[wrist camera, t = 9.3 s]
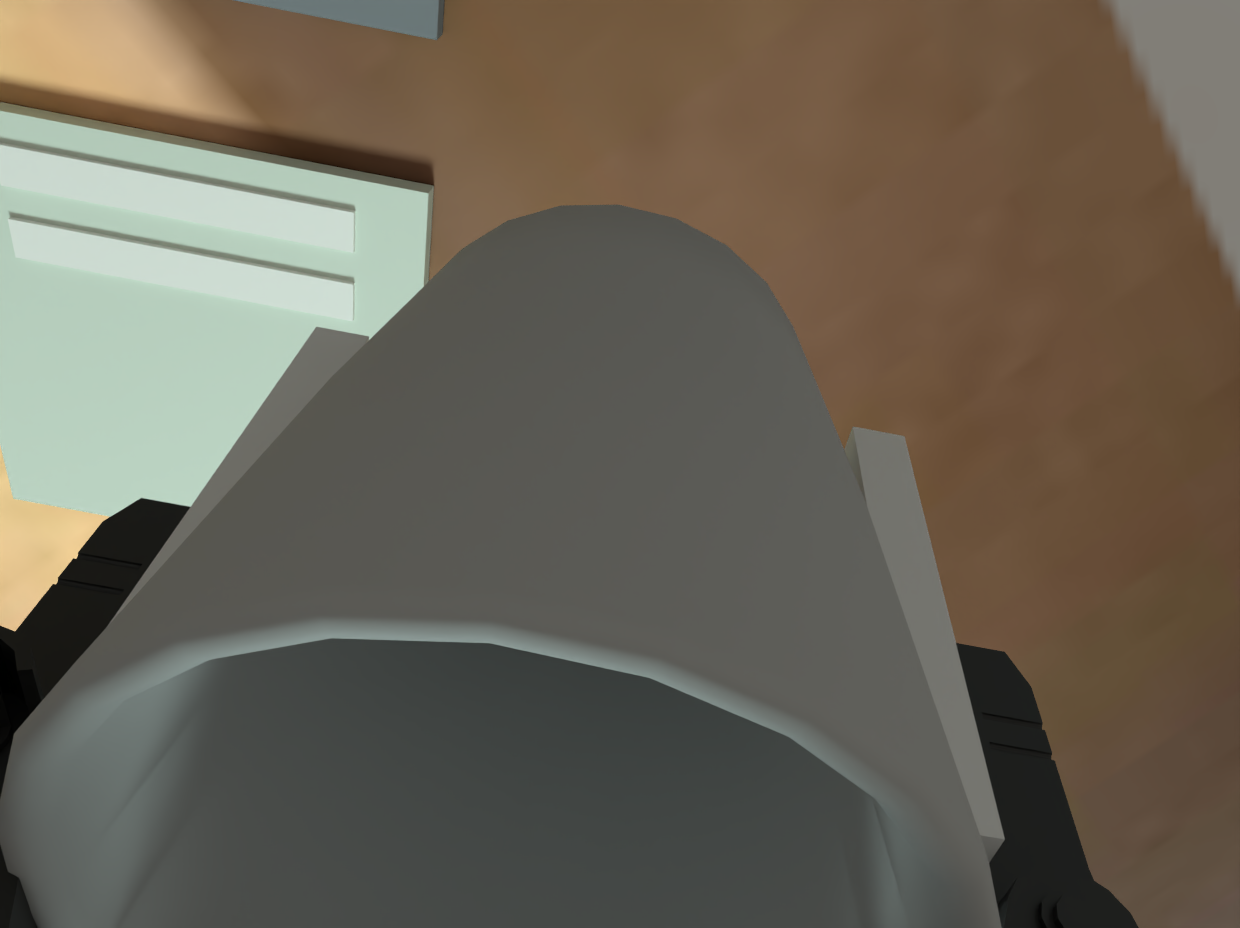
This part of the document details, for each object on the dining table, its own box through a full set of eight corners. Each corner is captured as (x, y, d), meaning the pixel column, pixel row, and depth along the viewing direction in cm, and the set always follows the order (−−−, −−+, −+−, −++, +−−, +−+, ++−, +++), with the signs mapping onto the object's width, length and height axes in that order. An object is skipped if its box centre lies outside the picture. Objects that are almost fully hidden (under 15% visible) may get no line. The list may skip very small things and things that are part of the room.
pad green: (-71, 88, 28) (-90, 95, 27) (433, 185, 28) (426, 195, 27) (23, 488, 36) (10, 501, 35) (412, 560, 36) (406, 574, 35)
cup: (757, 13, 11) (790, 431, 5) (979, 611, 16) (1153, 1241, 10) (239, 256, 14) (-246, 768, 7) (568, 713, 19) (472, 1273, 12)
